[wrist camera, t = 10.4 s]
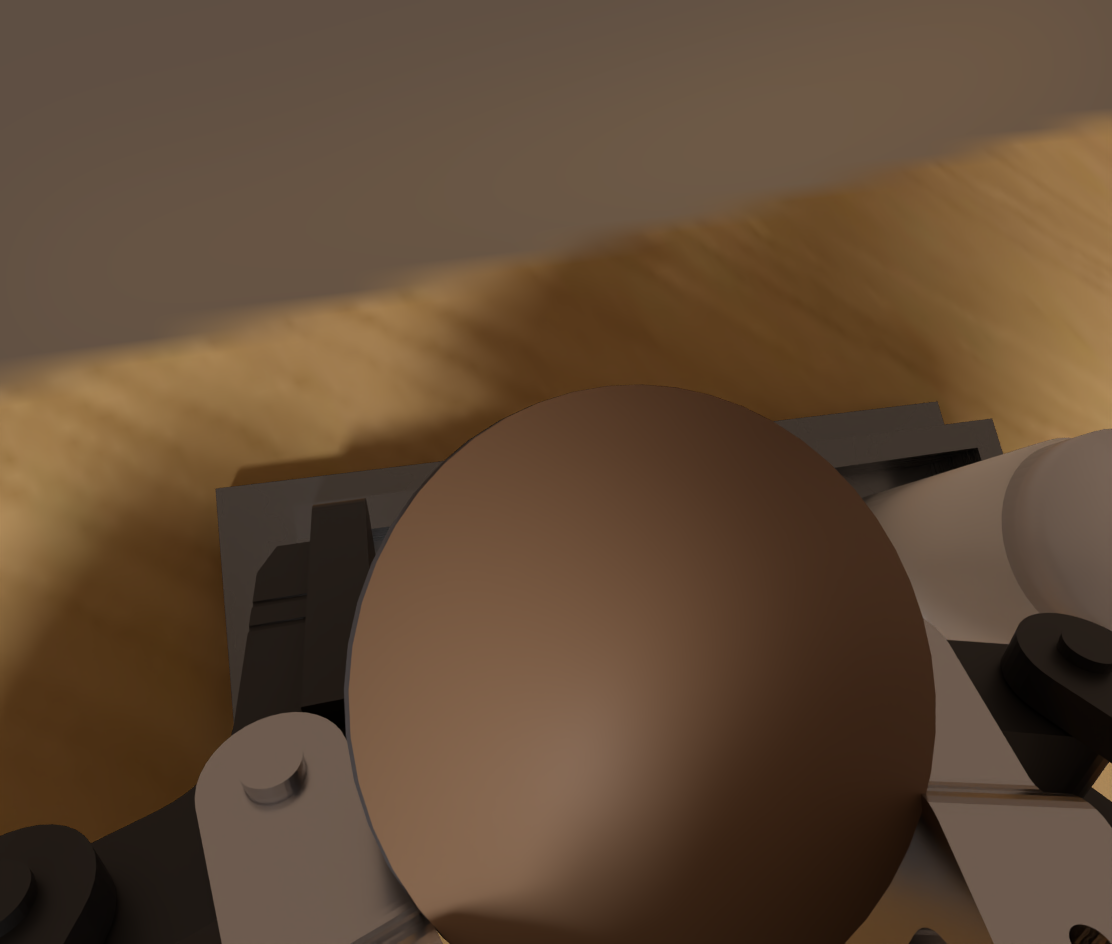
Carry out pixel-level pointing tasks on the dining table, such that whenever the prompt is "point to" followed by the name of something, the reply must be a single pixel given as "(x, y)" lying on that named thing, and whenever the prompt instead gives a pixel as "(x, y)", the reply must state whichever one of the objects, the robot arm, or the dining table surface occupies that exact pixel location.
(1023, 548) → the salt shaker
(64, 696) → the dining table surface
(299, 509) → the condiment caddy
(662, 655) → the brown wooden cylinder
